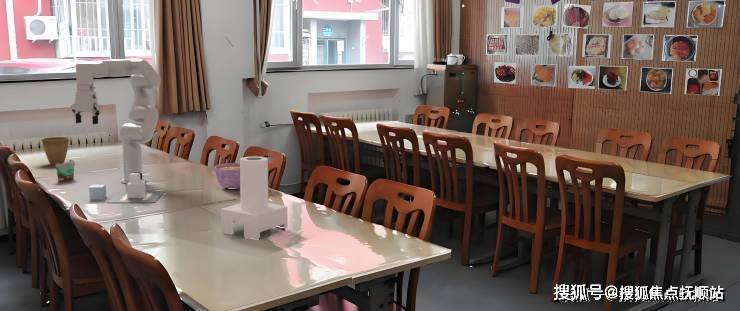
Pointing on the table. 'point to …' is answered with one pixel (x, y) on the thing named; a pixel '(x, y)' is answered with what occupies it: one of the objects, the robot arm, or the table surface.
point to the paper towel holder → (253, 201)
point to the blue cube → (97, 191)
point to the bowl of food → (228, 175)
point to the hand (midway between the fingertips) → (87, 123)
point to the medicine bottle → (136, 186)
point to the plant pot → (55, 149)
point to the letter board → (148, 198)
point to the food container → (65, 171)
